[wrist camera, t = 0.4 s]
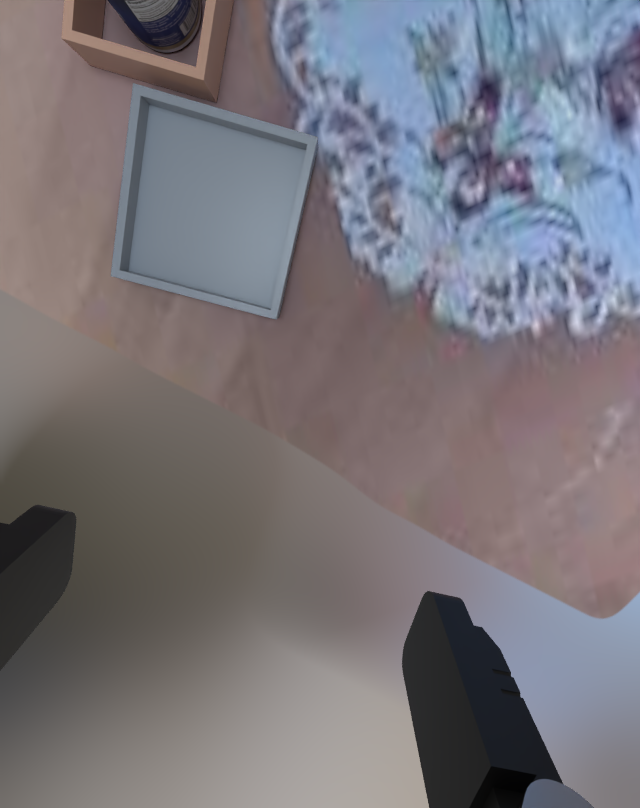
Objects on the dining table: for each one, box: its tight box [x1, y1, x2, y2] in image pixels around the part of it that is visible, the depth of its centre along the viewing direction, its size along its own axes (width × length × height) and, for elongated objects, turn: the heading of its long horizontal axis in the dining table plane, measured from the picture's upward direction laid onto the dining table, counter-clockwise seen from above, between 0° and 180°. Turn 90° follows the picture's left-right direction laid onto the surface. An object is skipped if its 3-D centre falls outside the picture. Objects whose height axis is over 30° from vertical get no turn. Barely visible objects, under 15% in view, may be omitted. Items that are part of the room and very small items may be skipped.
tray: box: [111, 83, 318, 319], centre depth 32 cm, size 13×13×2 cm
